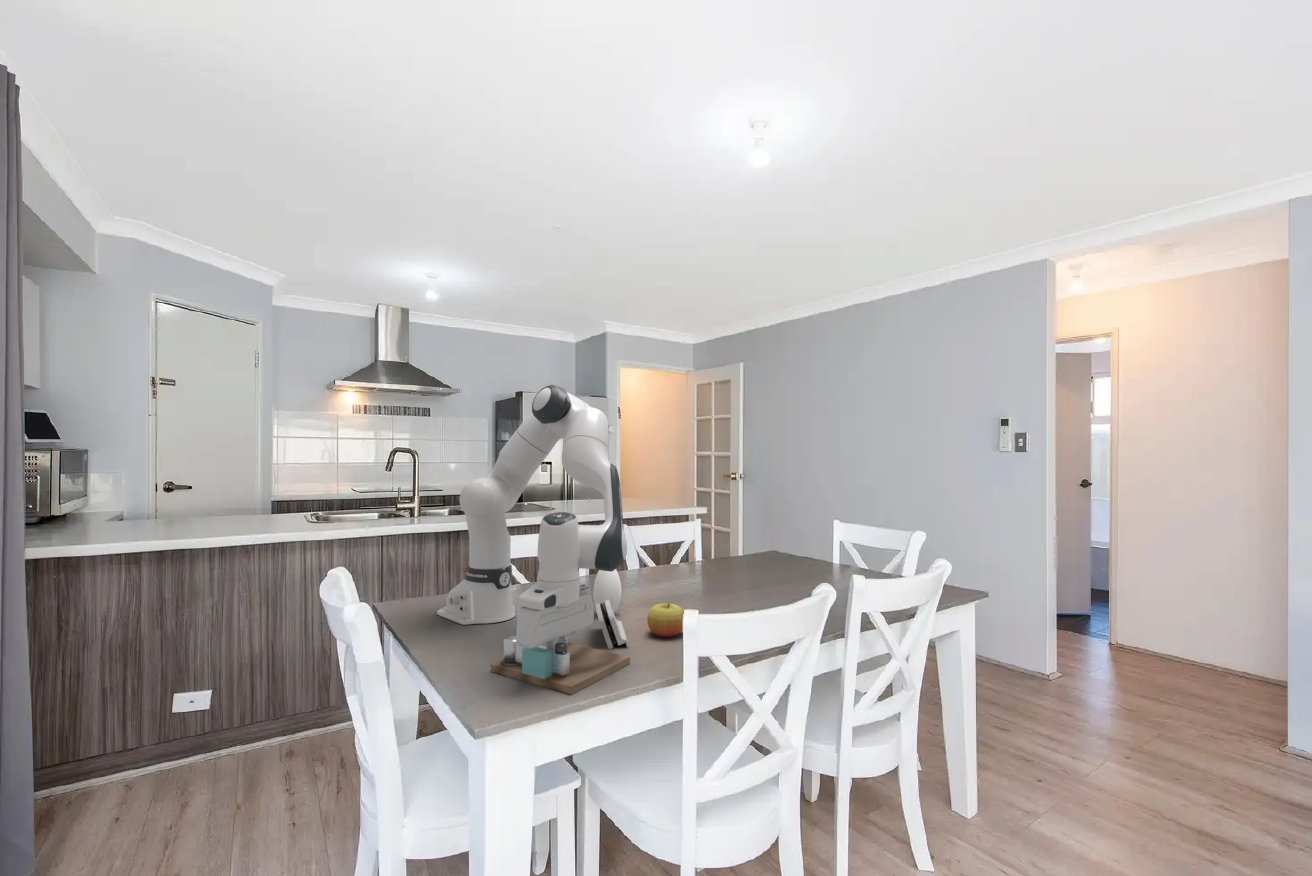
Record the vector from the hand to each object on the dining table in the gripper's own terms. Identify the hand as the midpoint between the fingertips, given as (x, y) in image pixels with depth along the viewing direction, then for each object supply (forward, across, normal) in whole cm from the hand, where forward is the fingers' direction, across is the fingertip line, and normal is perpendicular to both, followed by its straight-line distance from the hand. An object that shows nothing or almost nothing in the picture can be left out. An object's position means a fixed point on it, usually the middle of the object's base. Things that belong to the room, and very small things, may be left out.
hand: (557, 657), depth 127 cm
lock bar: (+1, +3, -3) cm, 5 cm away
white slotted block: (+4, -26, -6) cm, 27 cm away
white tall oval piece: (+4, -42, -19) cm, 46 cm away
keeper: (+2, +5, -1) cm, 6 cm away
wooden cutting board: (+4, -4, -2) cm, 5 cm away
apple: (+4, -36, +4) cm, 37 cm away
